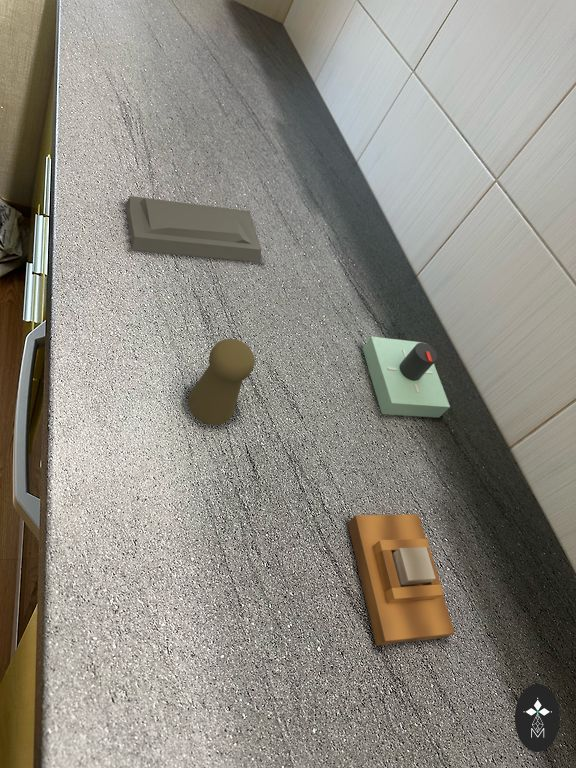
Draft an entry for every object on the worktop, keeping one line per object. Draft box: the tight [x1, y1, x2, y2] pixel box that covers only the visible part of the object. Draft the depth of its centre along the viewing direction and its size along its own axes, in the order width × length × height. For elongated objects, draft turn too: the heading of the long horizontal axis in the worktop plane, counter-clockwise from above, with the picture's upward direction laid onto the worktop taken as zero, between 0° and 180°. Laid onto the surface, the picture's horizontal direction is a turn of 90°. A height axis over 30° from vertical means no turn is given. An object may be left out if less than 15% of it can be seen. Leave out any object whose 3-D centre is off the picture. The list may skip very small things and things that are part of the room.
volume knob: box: [400, 342, 438, 381], centre depth 83 cm, size 4×4×5 cm
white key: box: [392, 547, 436, 585], centre depth 64 cm, size 4×4×2 cm
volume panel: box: [362, 336, 451, 419], centre depth 86 cm, size 10×12×3 cm
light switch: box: [347, 513, 456, 647], centre depth 66 cm, size 9×14×4 cm, turn 10°
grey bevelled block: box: [124, 195, 262, 263], centre depth 89 cm, size 10×20×4 cm, turn 105°
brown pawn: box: [187, 338, 256, 426], centre depth 68 cm, size 6×6×11 cm
